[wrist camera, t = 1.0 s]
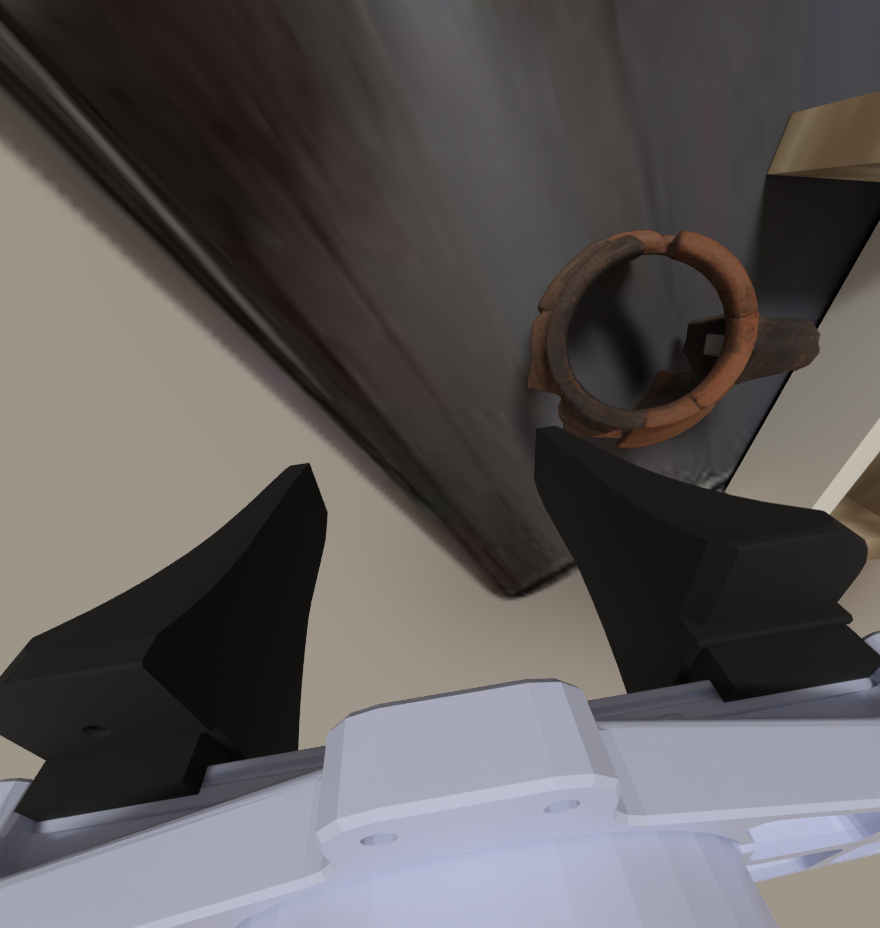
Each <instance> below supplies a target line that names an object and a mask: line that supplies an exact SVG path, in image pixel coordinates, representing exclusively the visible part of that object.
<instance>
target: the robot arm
mask: <svg viewBox="0 0 880 928" xmlns="http://www.w3.org/2000/svg"><path fill="white" fill-rule="evenodd" d="M534 481H535V484H536V487H537V489H538V492H539V495H540V497H541V500H542V502H543V505H544V507H545V509H546V511H547V512H548V514H549V516H550V518H551V520H552V521H553V523H554V525H555V527H556V529H557V530H558V532H559V534H560V536H561V537H562V539H563V541H564V543H565V544H566V546H567V548H568V550H569V552H570V553H571V555H572V557H573V559H574V560H575V562H576V564H577V566H578V568H579V570H580V572H581V575H582V577H583V579H584V582H585V584H586V586H587V589H588V591H589V593H590V595H591V598H592V600H593V603H594V605H595V608H596V610H597V613H598V615H599V618H600V620H601V623H602V625H603V628H604V630H605V633H606V636H607V638H608V641H609V644H610V647H611V649H612V652H613V654H614V657H615V660H616V663H617V665H618V668H619V671H620V674H621V677H622V680H623V683H624V685H625V689H626V691H627V694H623V695H619V696H612V697H606V698H600V699H594V700H589V701H587V700H586V697H585V695H584V693H583V690H582V689H580V688H578V687H576V686H574V685H571V684H568V683H565V682H563V681H560V680H557V679H555V678H554V679H553V678H552V679H525V680H519V681H513V682H507V683H501V684H496V685H490V686H484V687H478V688H472V689H466V690H461V691H454V692H448V693H443V694H436V695H430V696H425V697H419V698H413V699H407V700H401V701H395V702H389V703H383V704H378V705H375V706H372V707H369V708H366V709H362V710H360V711H356V712H353V713H350V714H349V715H348V716H347V717H346V718H344V719H343V720H342V721H341V722H340V723H338V724H337V725H336V726H335V727H334V728H333V729H332V730H331V731H329V732H328V734H327V740H326V746H321V747H315V748H310V749H304V750H298V741H299V718H300V702H301V688H302V687H301V686H302V675H303V664H304V653H305V644H306V635H307V627H308V618H309V612H310V606H311V601H312V597H313V592H314V588H315V584H316V580H317V575H318V571H319V567H320V563H321V558H322V554H323V549H324V544H325V540H326V529H327V514H328V513H327V510H326V507H325V504H324V501H323V499H322V496H321V493H320V490H319V488H318V485H317V482H316V480H315V477H314V474H313V472H312V469H311V466H310V464H309V463H305V464H299V465H292V466H289V467H288V468H287V469H285V470H284V471H283V472H282V473H281V474H280V475H279V476H278V477H277V478H275V480H274V481H272V482H271V483H270V484H269V485H268V486H267V487H266V488H265V489H264V490H263V491H262V492H261V493H260V494H259V495H258V496H257V497H256V498H255V499H253V500H252V501H251V503H249V504H248V505H247V506H246V507H245V508H244V509H243V510H241V511H240V512H239V513H238V514H237V515H236V516H235V517H233V518H232V519H231V520H230V521H229V522H228V523H227V524H225V525H224V526H223V527H222V528H221V529H219V530H218V531H217V532H216V533H215V534H213V535H212V536H211V537H209V538H208V539H207V540H205V541H204V542H202V543H201V544H200V545H198V546H197V547H196V548H194V549H193V550H192V551H190V552H189V553H187V554H186V555H184V556H183V557H181V558H180V559H178V560H177V561H175V562H173V563H172V564H170V565H169V566H167V567H166V568H164V569H163V570H161V571H159V572H158V573H156V574H155V575H153V576H152V577H150V578H149V579H147V580H145V581H143V582H141V583H140V584H138V585H136V586H135V587H133V588H131V589H129V590H127V591H126V592H124V593H122V594H120V595H118V596H117V597H115V598H113V599H111V600H109V601H107V602H105V603H103V604H102V605H100V606H98V607H96V608H94V609H92V610H90V611H88V612H86V613H84V614H82V615H79V616H77V617H75V618H73V619H71V620H69V621H67V622H65V623H63V624H61V625H59V626H57V627H55V628H52V629H51V630H49V631H46V632H44V633H42V634H40V635H38V636H35V637H33V638H32V639H31V640H30V641H29V642H28V643H27V645H26V646H25V647H24V649H23V650H22V651H21V652H20V653H19V654H18V656H17V657H16V658H15V659H14V660H13V662H12V663H11V664H10V665H9V666H8V668H7V669H6V670H5V671H4V672H3V674H2V675H1V676H0V735H1V736H3V737H5V738H6V739H8V740H10V741H12V742H14V743H15V744H17V745H19V746H21V747H23V748H24V749H26V750H28V751H30V752H32V753H34V754H35V755H37V756H39V757H41V758H43V759H44V760H46V761H45V763H44V764H43V766H42V768H41V769H40V771H39V772H38V774H37V775H36V777H35V779H34V780H31V779H24V778H11V779H4V780H0V928H779V927H778V925H777V923H776V921H775V919H774V918H773V916H772V914H771V912H770V910H769V908H768V906H767V905H766V903H765V901H764V900H763V897H762V896H761V894H760V892H759V890H758V888H757V886H756V884H755V883H756V882H760V881H764V880H769V879H773V878H777V877H782V876H786V875H790V874H794V873H799V872H802V871H807V870H811V869H816V868H820V867H824V866H828V865H832V864H837V863H841V862H845V861H850V860H854V859H858V858H863V857H867V856H871V855H876V854H880V631H876V632H873V633H871V634H869V635H867V636H865V637H863V638H860V637H859V636H858V635H857V634H856V633H855V632H854V631H853V630H852V629H850V628H849V627H848V626H847V625H846V624H850V623H851V622H852V620H853V618H852V615H851V614H850V613H849V612H847V611H846V610H845V609H844V608H843V607H842V606H841V605H839V604H838V603H837V602H838V601H839V599H840V598H841V597H842V596H843V594H844V593H845V592H846V590H847V589H848V588H849V586H850V585H851V584H852V583H853V581H854V580H855V579H856V577H857V576H858V575H859V573H860V572H861V570H862V568H863V567H864V565H865V563H866V560H867V555H868V547H867V544H866V541H865V539H863V538H862V537H860V536H859V535H858V534H856V533H855V532H853V531H852V530H851V529H849V528H848V527H846V526H845V525H843V524H842V523H841V522H839V521H838V520H836V519H835V518H834V517H832V516H831V515H829V514H828V513H826V512H825V511H823V510H816V509H809V508H803V507H796V506H789V505H783V504H776V503H770V502H764V501H759V500H754V499H749V498H744V497H739V496H734V495H730V494H725V493H721V492H717V491H713V490H709V489H705V488H702V487H698V486H695V485H691V484H687V483H684V482H681V481H678V480H674V479H671V478H668V477H666V476H663V475H660V474H657V473H654V472H652V471H649V470H646V469H644V468H641V467H639V466H636V465H634V464H632V463H629V462H627V461H625V460H623V459H620V458H618V457H616V456H614V455H612V454H610V453H608V452H606V451H604V450H602V449H600V448H598V447H596V446H594V445H592V444H590V443H588V442H586V441H584V440H582V439H581V438H579V437H577V436H575V435H573V434H571V433H569V432H567V431H565V430H563V429H561V428H559V427H557V426H551V427H544V428H538V429H536V447H535V474H534Z"/></svg>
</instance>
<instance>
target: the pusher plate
mask: <svg viewBox="0 0 880 928" xmlns="http://www.w3.org/2000/svg"><path fill="white" fill-rule="evenodd" d="M817 330H818V331H819V333H820V339H819V347H820V352H819V354H818V356H817V357H816V358H815V359H814V360H813V362H812V363H811V364H810V365H808V366H806V367H804V368H801V369H799V370H797V371H793V373H792V375H791V377H790V378H789V380H788V382H787V384H786V385H785V387H784V389H783V391H782V392H781V394H780V396H779V398H778V399H777V401H776V403H775V405H774V406H773V408H772V410H771V412H770V413H769V415H768V417H767V419H766V420H765V422H764V424H763V426H762V427H761V429H760V431H759V433H758V434H757V436H756V438H755V440H754V441H753V443H752V445H751V447H750V448H749V450H748V452H747V454H746V455H745V457H744V459H743V461H742V462H741V464H740V466H739V468H738V469H737V471H736V473H735V475H734V476H733V478H732V480H731V482H730V483H729V485H728V487H727V489H726V490H725V492H726V493H727V494H730V495H734V496H739V497H744V498H749V499H754V500H759V501H764V502H770V503H776V504H783V505H789V506H796V507H803V508H809V509H816V510H823V511H825V512H826V513H828V514H829V515H830V513H831V512H832V511H833V510H834V508H835V507H836V506H837V505H838V503H839V502H840V501H841V500H842V498H843V497H844V496H845V495H846V493H847V492H848V491H849V490H850V488H851V487H852V486H853V485H854V483H855V482H856V481H857V479H858V478H859V477H860V476H861V474H862V473H863V472H864V471H865V469H866V468H867V467H868V466H869V464H870V463H871V462H872V461H873V459H874V458H875V457H876V456H877V454H878V453H879V452H880V221H879V222H878V224H877V226H876V228H875V229H874V231H873V233H872V235H871V236H870V238H869V240H868V242H867V243H866V245H865V247H864V249H863V250H862V252H861V254H860V256H859V257H858V259H857V261H856V263H855V264H854V266H853V268H852V270H851V271H850V273H849V275H848V277H847V278H846V280H845V282H844V284H843V285H842V287H841V289H840V291H839V293H838V294H837V296H836V298H835V300H834V301H833V303H832V305H831V307H830V308H829V310H828V312H827V314H826V315H825V317H824V319H823V321H822V322H821V324H820V326H819V328H818V329H817Z"/></svg>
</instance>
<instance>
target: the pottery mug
mask: <svg viewBox="0 0 880 928" xmlns="http://www.w3.org/2000/svg"><path fill="white" fill-rule="evenodd" d="M650 254H657V255H666V256H668V257H669V258H671V259H673V260H677V261H680V262H683V263H685V264H687V265H689V266H691V267H693V268H695V269H696V270H698V271H699V272H701V273H702V274H703V275H704V276H705V277H706V278H707V279H708V280H709V281H710V282H711V284H712V285H713V286H714V288H715V289H716V291H717V293H718V295H719V297H720V299H721V302H722V305H723V309H724V314H722V315H720V316H715V317H706V318H704V319H703V320H693V321H691V322H690V323H689V324H688V329H687V338H686V341H685V344H684V348H683V352H684V354H685V355H686V357H687V359H688V361H689V363H690V365H691V367H692V373H691V374H688V373H683V372H676V373H673V372H670V371H665V370H661V371H660V372H659V374H658V376H657V378H656V381H655V383H654V385H653V387H652V388H651V390H650V392H649V393H648V394H647V396H646V397H645V398H644V399H643V400H642V401H641V402H640V403H639V404H638V405H636V406H635V407H634V408H633V409H632V410H626V409H620V408H616V407H613V406H610V405H608V404H605V403H603V402H602V401H600V400H598V399H597V398H595V397H594V396H592V395H591V394H590V393H589V392H588V391H586V389H585V388H584V387H583V386H582V385H581V384H580V383H579V381H578V380H576V378H575V376H574V373H573V371H572V369H571V365H570V362H569V357H568V353H567V335H568V329H569V325H570V321H571V318H572V316H573V313H574V311H575V309H576V307H577V305H578V303H579V302H580V300H581V299H582V297H583V296H584V294H585V293H586V292H587V290H588V289H589V288H590V287H591V286H592V285H593V284H594V282H595V281H597V280H598V279H599V278H600V277H601V276H603V275H604V274H606V273H607V272H609V271H610V270H612V269H613V268H615V267H617V266H619V265H621V264H623V263H626V262H629V261H631V260H633V259H636V258H637V257H639V256H641V255H650ZM538 310H539V312H540V313H541V314H540V315H539V316H538V317H537V318H536V319H535V320H534V322H533V324H532V330H531V348H530V349H531V359H530V368H529V374H528V381H527V387H528V389H535V390H539V391H543V392H551V393H555V394H557V395H560V396H561V402H560V404H559V406H558V410H559V417H560V419H561V420H562V422H563V430H565V431H567V432H569V433H571V434H573V435H575V436H577V437H579V438H581V439H584V438H586V437H589V436H590V437H596V438H620V439H619V440H618V442H617V444H616V446H617V447H621V448H624V449H629V448H639V447H644V446H648V445H652V444H655V443H658V442H662V441H664V440H667V439H670V438H672V437H674V436H676V435H678V434H680V433H682V432H684V431H685V430H687V429H689V428H690V427H692V426H694V425H695V424H696V423H698V422H699V421H700V420H702V419H703V417H705V416H707V415H708V414H709V413H710V412H711V411H712V410H713V408H714V407H715V405H716V404H717V402H719V401H720V400H721V399H722V398H723V397H724V396H725V395H726V393H727V392H728V391H729V390H730V389H731V388H732V387H733V386H734V385H737V384H740V383H742V382H745V381H749V380H752V379H756V378H761V377H766V376H770V375H776V374H781V373H783V372H786V371H797V370H799V369H801V368H804V367H806V366H808V365H810V364H811V363H812V362H813V360H814V359H815V358H816V357H817V356H818V354H819V352H820V347H819V339H820V333H819V331H818V330H817V328H816V327H815V325H814V324H813V323H812V322H811V321H809V320H806V319H794V318H768V317H763V316H761V315H759V311H758V302H757V299H756V294H755V290H754V288H753V286H752V283H751V280H750V278H749V276H748V274H747V272H746V270H745V268H744V267H743V266H742V264H741V262H740V261H739V259H737V258H736V257H735V256H734V255H733V254H732V253H731V252H729V250H728V249H727V248H725V247H724V246H722V245H721V244H719V243H718V242H717V241H716V240H714V239H712V238H708V237H706V236H703V235H701V234H697V233H694V232H690V231H682V232H680V233H679V234H678V235H677V236H671V235H660V234H659V233H656V232H654V231H652V230H641V231H630V232H624V233H620V234H616V235H613V236H610V237H609V238H608V239H605V240H603V239H601V240H597V241H595V242H593V243H591V244H590V245H589V246H587V247H586V248H585V249H584V250H582V251H581V252H580V253H579V254H577V255H576V256H575V257H574V258H573V259H572V260H571V261H570V262H569V263H568V264H567V265H566V266H565V267H564V268H563V269H562V270H561V271H560V273H559V274H558V275H557V276H556V277H555V279H554V280H553V281H552V282H551V284H550V285H549V287H548V289H547V290H546V292H545V294H544V295H543V297H542V298H541V300H540V302H539V304H538Z"/></svg>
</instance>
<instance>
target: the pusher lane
mask: <svg viewBox="0 0 880 928" xmlns="http://www.w3.org/2000/svg"><path fill="white" fill-rule="evenodd" d="M767 174H769V175H784V176H798V177H813V178H828V179H843V180H857V181H872V182H880V91H878V92H874V93H870V94H866V95H862V96H858V97H854V98H850V99H846V100H842V101H838V102H835V103H831V104H827V105H823V106H819V107H815V108H811V109H807V110H803V111H799V112H795V113H792V115H791V117H790V120H789V122H788V125H787V127H786V129H785V132H784V134H783V137H782V139H781V142H780V144H779V147H778V149H777V151H776V154H775V156H774V159H773V161H772V164H771V166H770V168H769V171H768V173H767ZM725 494H727V493H725ZM830 515H831V516H832V517H834V518H835V519H836V520H838V521H839V522H841V523H842V524H843V525H845V526H846V527H848V528H849V529H851V530H852V531H853V532H855V533H856V534H858V535H859V536H860V537H862V538H863V539H865V541H866V544H867V547H868V555H867V560H872V559H880V452H879V453H878V454H877V456H876V457H875V458H874V459H873V461H872V462H871V463H870V464H869V466H868V467H867V468H866V469H865V471H864V472H863V473H862V474H861V476H860V477H859V478H858V479H857V481H856V482H855V483H854V485H853V486H852V487H851V488H850V490H849V491H848V492H847V493H846V495H845V496H844V497H843V498H842V500H841V501H840V502H839V503H838V505H837V506H836V507H835V508H834V510H833V511H832V512H831V513H830Z"/></svg>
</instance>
